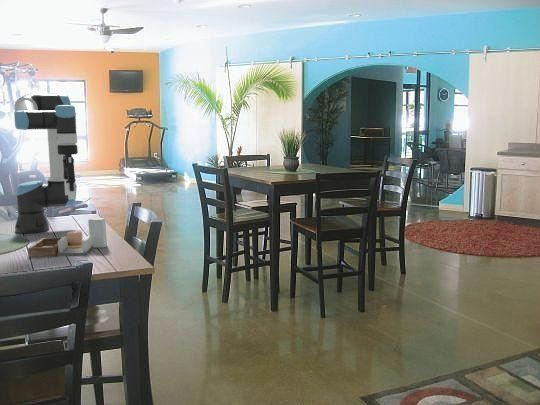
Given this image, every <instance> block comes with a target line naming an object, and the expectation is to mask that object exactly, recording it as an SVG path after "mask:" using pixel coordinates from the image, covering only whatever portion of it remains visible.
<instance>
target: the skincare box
mask: <svg viewBox="0 0 540 405" xmlns="http://www.w3.org/2000/svg"><path fill="white" fill-rule="evenodd" d="M87 222H88V233H89V235H88V236H91V245H92V249H94V248H99V249H100V248H102V249H103V248H105V247H107V246H108V241H107V240H108V239H107V226H106V225H107V224H106V218H105V217H91V218H89V219H88V221H87Z"/></svg>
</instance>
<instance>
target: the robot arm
mask: <svg viewBox="0 0 540 405" xmlns="http://www.w3.org/2000/svg"><path fill="white" fill-rule="evenodd" d="M13 116H14V126H15V129H16V130H24V131H27V130H47V143H48V159H49V177H48V178H47V179H46V182H47V183H43V181H42V180H31V181H26V182H22V183H19V184H18V185H16V194H15V195H16V201H17V202H16V204H17V218H16V221H15V226H14V232H15V233H19V234H35V233H42V232H47V231H49V230H50V223H49V221H48V219H47V215H46V214H45V209H46V208H48V209H49V208H58V207H59V208H60V207H61V208H62V207H64V208H65V207H72V206H73V205H74V204H75V203H76V199H77V182H76V181H77V180H76V173H75V158H74V156H72V155H77V154H78V153H79V151H78V134H77V118H76V116H77V113H76V107H75V106H74V105H72V103H71V100H70V97H69V96H68V95H67V94H65V93H36V92H35V93H29V94H25V95H23V96H20V97H19V98H18V99H17V100H16V101H15V103H14V114H13Z"/></svg>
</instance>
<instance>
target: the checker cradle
mask: <svg viewBox="0 0 540 405" xmlns="http://www.w3.org/2000/svg"><path fill="white" fill-rule="evenodd" d="M60 238H61V239H60V240H58V253H57V255H56V256H57V257H63V256H64V257H66V256H87V254H88V253H89V252H90V251H91V250H92V249H93V248H92V245H91V236H90V235H86V236H85V237H84V238H82V245H72V246H68V241H67V236H62V237H60Z"/></svg>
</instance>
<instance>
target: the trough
mask: <svg viewBox="0 0 540 405" xmlns="http://www.w3.org/2000/svg"><path fill="white" fill-rule="evenodd" d="M61 238H62V237H45V238H44V237H42V238H40V239H39V240H38V241H36V242H35V243H33V244H32V245H31V246H29V247H28V248H27V253H28V255H27V256H28V258H42V257H44V258H45V257H49V258H50V257H56V256H57V253H58V240H60V239H61Z"/></svg>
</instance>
